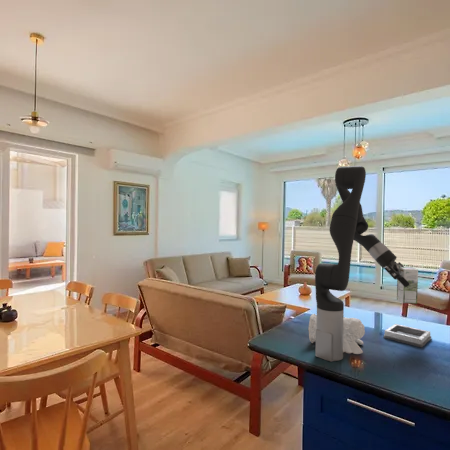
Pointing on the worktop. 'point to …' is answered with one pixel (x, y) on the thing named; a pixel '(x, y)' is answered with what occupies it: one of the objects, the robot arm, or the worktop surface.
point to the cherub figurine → (351, 333)
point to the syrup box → (410, 291)
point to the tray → (408, 335)
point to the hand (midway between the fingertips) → (410, 284)
